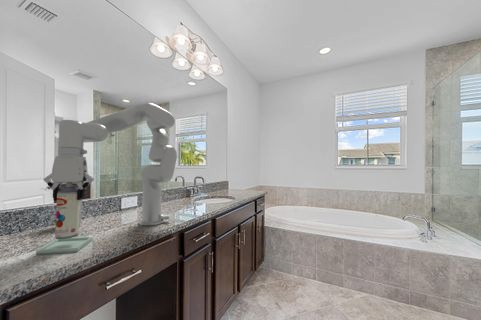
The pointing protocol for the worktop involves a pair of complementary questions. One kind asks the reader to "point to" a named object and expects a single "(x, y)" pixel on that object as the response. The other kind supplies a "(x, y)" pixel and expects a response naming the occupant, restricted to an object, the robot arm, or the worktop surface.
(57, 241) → the tray
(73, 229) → the aerosol can
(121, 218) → the worktop surface
